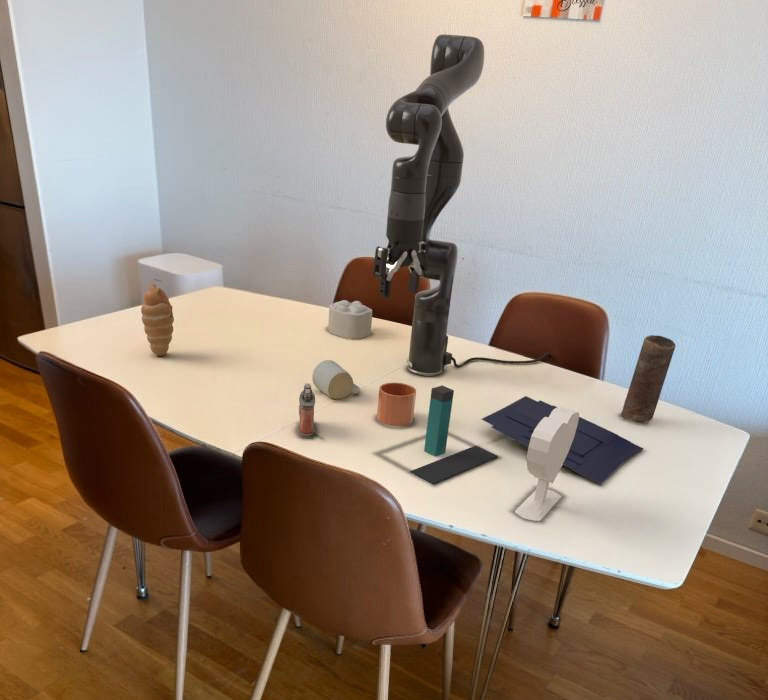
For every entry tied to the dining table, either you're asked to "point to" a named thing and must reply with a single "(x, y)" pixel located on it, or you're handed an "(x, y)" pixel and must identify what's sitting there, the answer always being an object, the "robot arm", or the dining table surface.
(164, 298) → the ridged brown croissant
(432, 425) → the block
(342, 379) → the ceramic mug
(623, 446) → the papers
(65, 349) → the dining table surface
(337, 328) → the lumpy-topped squat cylinder
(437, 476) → the mat
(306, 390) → the lighter
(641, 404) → the brown hollow cylinder
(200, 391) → the dining table surface
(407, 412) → the pen cup
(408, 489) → the dining table surface
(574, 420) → the heart sculpture
